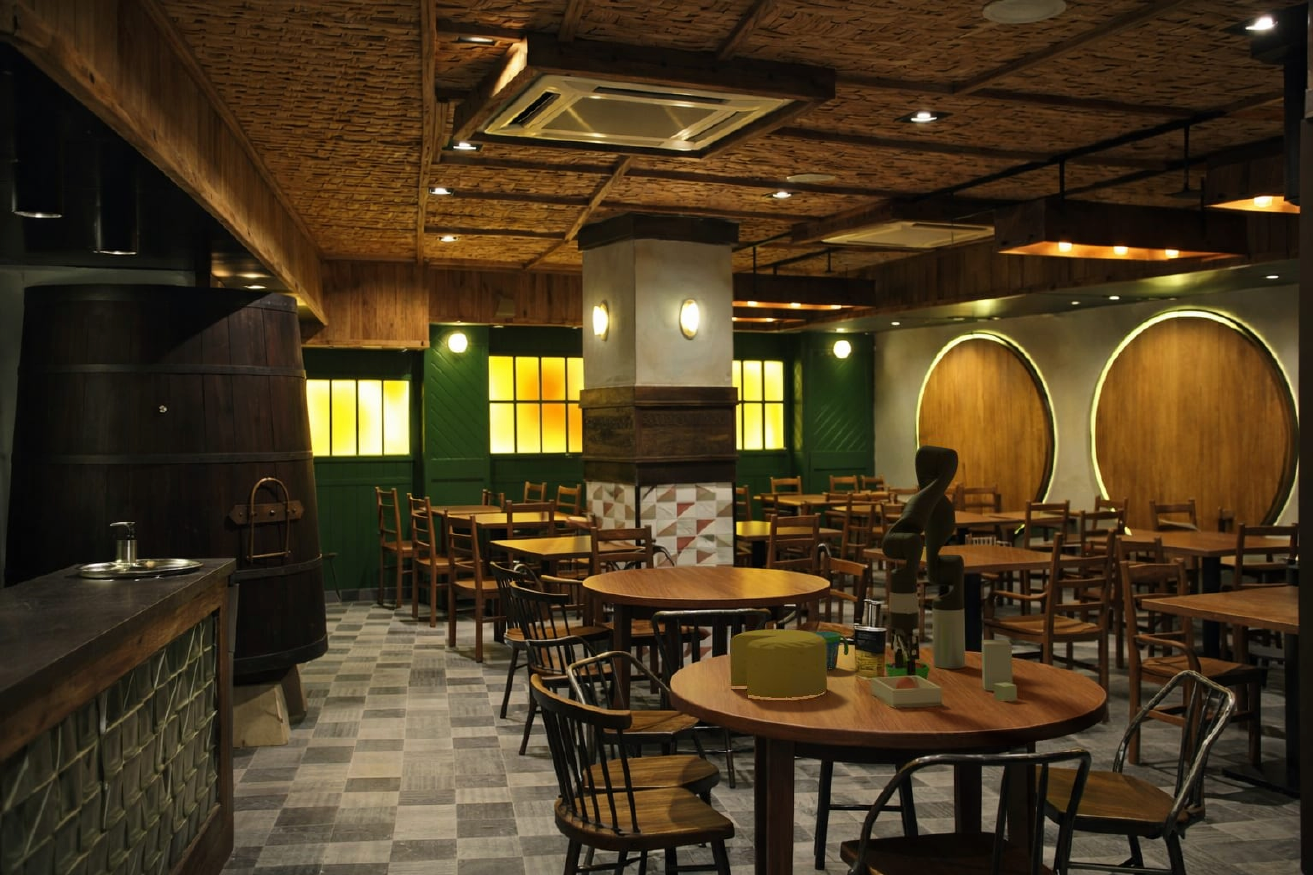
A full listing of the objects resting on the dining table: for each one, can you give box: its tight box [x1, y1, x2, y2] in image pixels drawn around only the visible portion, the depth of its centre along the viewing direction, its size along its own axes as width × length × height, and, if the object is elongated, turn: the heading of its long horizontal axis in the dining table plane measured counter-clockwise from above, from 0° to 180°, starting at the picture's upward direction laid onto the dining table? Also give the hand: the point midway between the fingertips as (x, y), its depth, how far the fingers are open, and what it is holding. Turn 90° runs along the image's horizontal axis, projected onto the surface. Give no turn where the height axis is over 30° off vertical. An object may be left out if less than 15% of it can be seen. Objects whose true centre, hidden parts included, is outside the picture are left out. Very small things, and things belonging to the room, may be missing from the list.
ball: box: [896, 677, 916, 689], centre depth 294 cm, size 5×5×5 cm
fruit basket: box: [884, 653, 931, 681], centre depth 315 cm, size 11×9×11 cm
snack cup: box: [811, 631, 849, 670], centre depth 338 cm, size 16×10×10 cm
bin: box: [870, 676, 943, 708], centre depth 294 cm, size 16×13×4 cm
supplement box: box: [981, 639, 1013, 692], centre depth 306 cm, size 7×7×13 cm
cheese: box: [729, 628, 828, 698], centre depth 308 cm, size 26×26×15 cm
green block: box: [993, 682, 1018, 702], centre depth 293 cm, size 4×4×4 cm
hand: (905, 671), depth 294 cm, fingers open, 8 cm apart
